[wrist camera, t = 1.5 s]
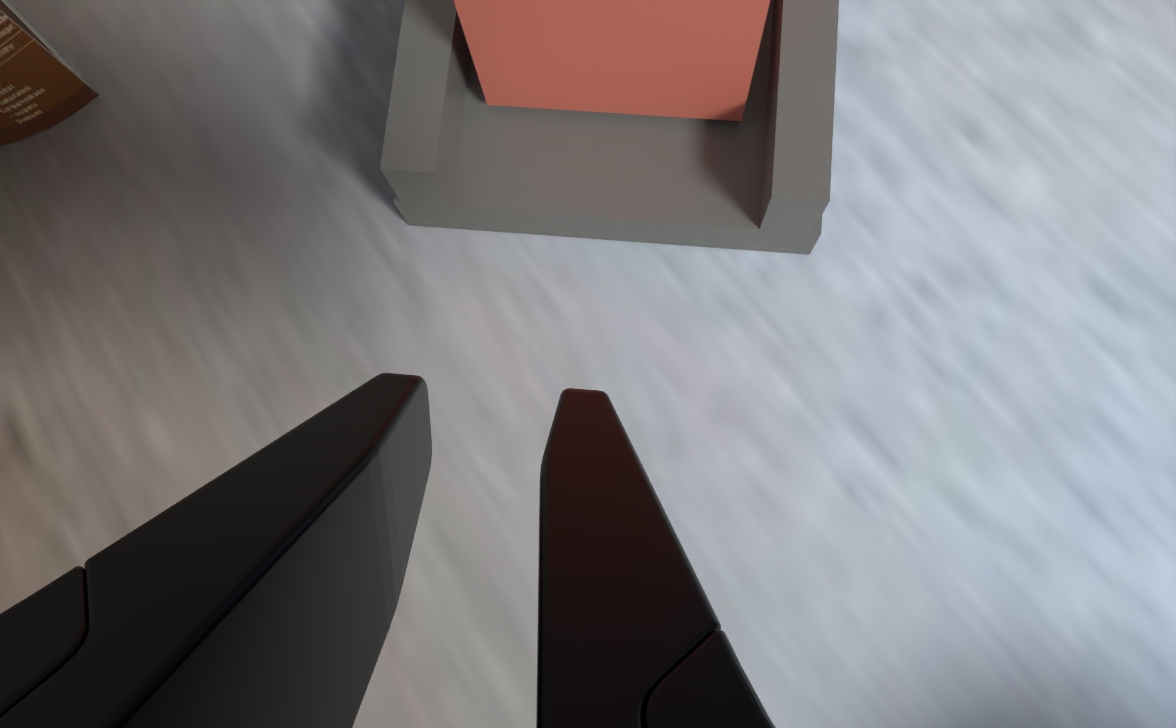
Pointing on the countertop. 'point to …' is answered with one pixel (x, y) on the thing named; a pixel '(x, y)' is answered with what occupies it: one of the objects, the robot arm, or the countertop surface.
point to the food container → (34, 80)
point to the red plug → (616, 54)
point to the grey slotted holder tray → (616, 148)
